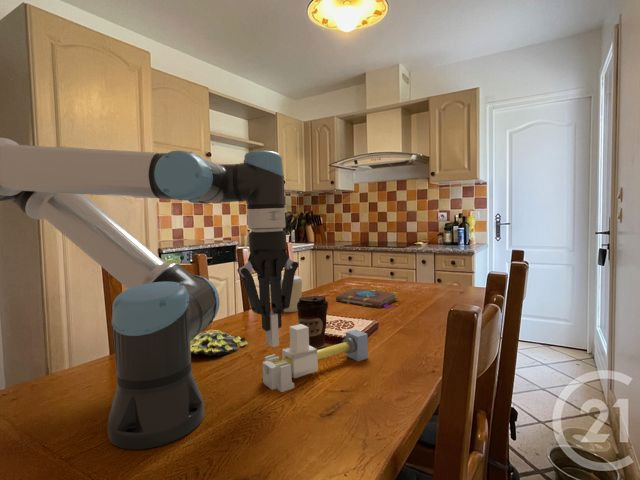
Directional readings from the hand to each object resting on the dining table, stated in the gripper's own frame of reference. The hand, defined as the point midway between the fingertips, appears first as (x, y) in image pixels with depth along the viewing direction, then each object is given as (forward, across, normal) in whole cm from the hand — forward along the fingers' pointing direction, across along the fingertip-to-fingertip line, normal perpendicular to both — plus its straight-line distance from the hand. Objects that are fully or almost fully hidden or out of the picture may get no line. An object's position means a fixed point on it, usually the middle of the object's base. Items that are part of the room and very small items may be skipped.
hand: (272, 344), depth 75 cm
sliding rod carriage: (+8, +7, 0) cm, 10 cm away
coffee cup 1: (+9, +33, +50) cm, 61 cm away
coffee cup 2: (+9, +19, +14) cm, 25 cm away
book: (+10, +64, +40) cm, 76 cm away
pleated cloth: (+9, -4, +32) cm, 33 cm away
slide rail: (+9, +12, 0) cm, 14 cm away
